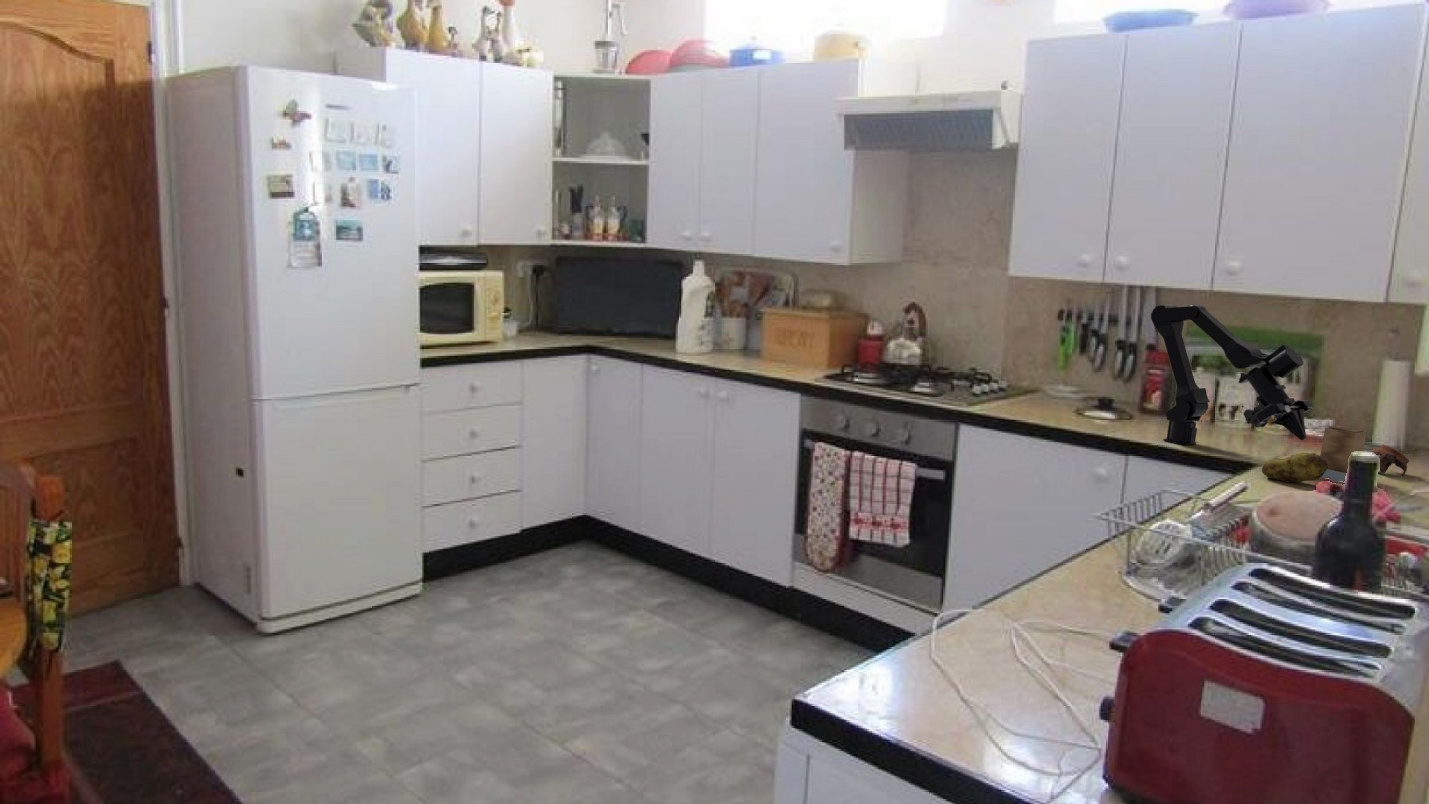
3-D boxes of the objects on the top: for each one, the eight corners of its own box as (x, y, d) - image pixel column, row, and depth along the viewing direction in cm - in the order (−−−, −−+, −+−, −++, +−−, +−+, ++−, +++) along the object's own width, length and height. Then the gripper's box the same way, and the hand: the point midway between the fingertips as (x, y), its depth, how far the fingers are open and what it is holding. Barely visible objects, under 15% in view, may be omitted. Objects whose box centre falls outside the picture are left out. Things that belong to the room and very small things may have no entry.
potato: (1275, 475, 252) (1280, 443, 250) (1329, 488, 241) (1335, 455, 240) (1256, 478, 247) (1261, 445, 246) (1310, 491, 237) (1316, 458, 235)
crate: (1315, 475, 254) (1324, 426, 252) (1326, 472, 258) (1335, 424, 255) (1346, 482, 248) (1356, 432, 246) (1357, 479, 252) (1367, 430, 250)
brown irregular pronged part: (1355, 467, 270) (1376, 442, 269) (1390, 490, 266) (1412, 464, 264) (1359, 464, 260) (1381, 438, 258) (1395, 487, 255) (1418, 460, 254)
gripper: (1259, 403, 276) (1294, 452, 270) (1223, 407, 266) (1258, 458, 259) (1295, 380, 269) (1331, 430, 262) (1259, 382, 258) (1296, 435, 251)
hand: (1303, 439), depth 259 cm, fingers closed
